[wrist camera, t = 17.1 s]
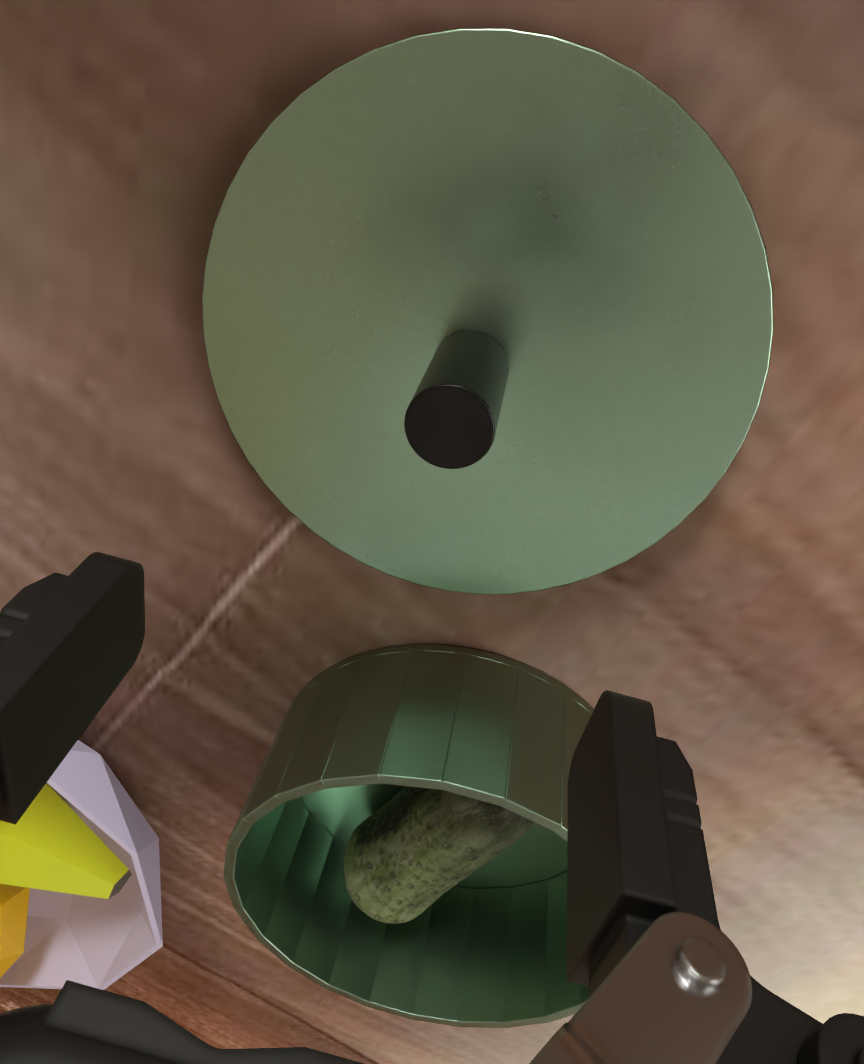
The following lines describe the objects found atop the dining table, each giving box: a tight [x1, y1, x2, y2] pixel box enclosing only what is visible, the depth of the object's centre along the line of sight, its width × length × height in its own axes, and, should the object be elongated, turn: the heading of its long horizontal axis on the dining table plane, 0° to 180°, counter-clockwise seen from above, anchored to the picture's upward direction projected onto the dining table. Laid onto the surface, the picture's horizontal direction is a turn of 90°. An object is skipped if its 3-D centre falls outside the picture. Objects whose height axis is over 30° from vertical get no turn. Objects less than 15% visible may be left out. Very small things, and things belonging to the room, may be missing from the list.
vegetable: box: [343, 786, 533, 924], centre depth 35 cm, size 14×5×5 cm, turn 147°
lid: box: [202, 28, 774, 594], centre depth 23 cm, size 19×19×6 cm
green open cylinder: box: [224, 644, 594, 1028], centre depth 35 cm, size 18×18×8 cm
